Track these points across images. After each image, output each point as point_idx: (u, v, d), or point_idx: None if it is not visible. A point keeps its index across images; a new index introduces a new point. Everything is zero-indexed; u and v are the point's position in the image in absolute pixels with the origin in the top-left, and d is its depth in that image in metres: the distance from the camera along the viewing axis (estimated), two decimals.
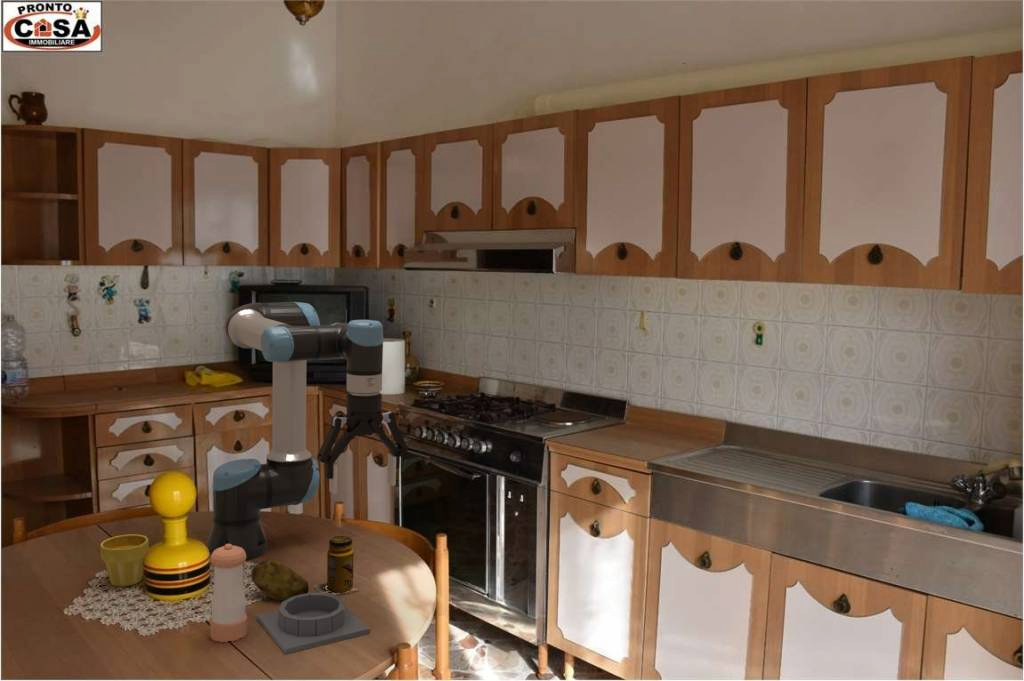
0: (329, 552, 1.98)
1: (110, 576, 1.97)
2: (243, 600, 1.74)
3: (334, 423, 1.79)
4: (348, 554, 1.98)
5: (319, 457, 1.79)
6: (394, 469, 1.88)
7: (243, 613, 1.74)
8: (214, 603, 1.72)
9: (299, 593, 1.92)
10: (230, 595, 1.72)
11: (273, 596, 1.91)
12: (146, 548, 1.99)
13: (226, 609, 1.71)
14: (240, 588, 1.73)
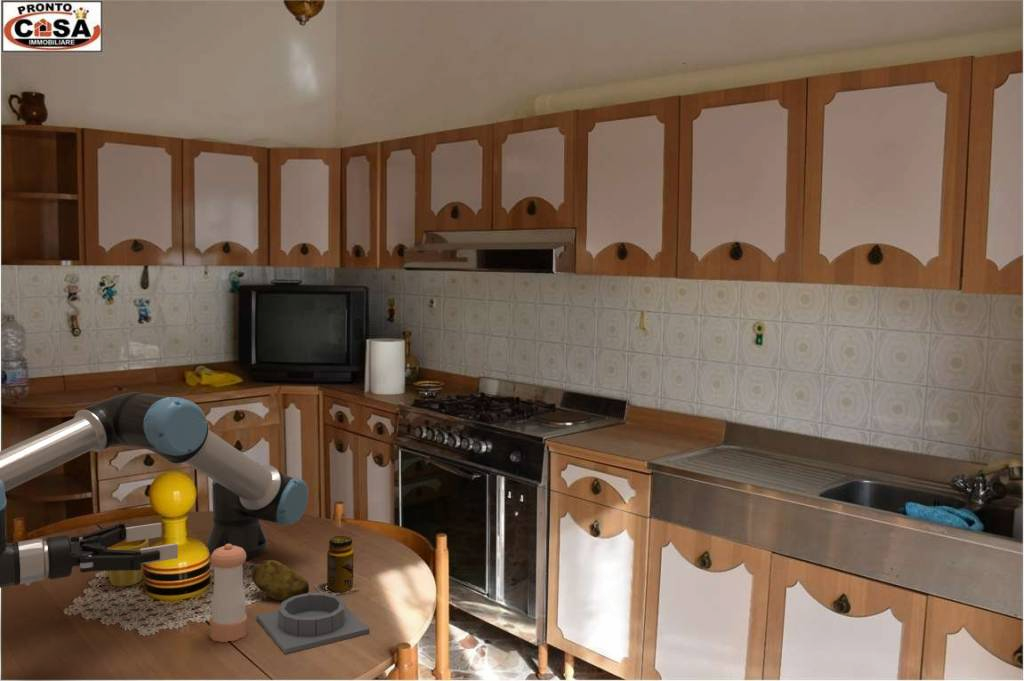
0: (329, 552, 1.98)
1: (110, 576, 1.97)
2: (243, 600, 1.74)
3: None
4: (348, 554, 1.98)
5: None
6: None
7: (243, 613, 1.74)
8: (214, 603, 1.72)
9: (299, 593, 1.92)
10: (230, 595, 1.72)
11: (273, 596, 1.91)
12: None
13: (226, 609, 1.71)
14: (240, 588, 1.73)
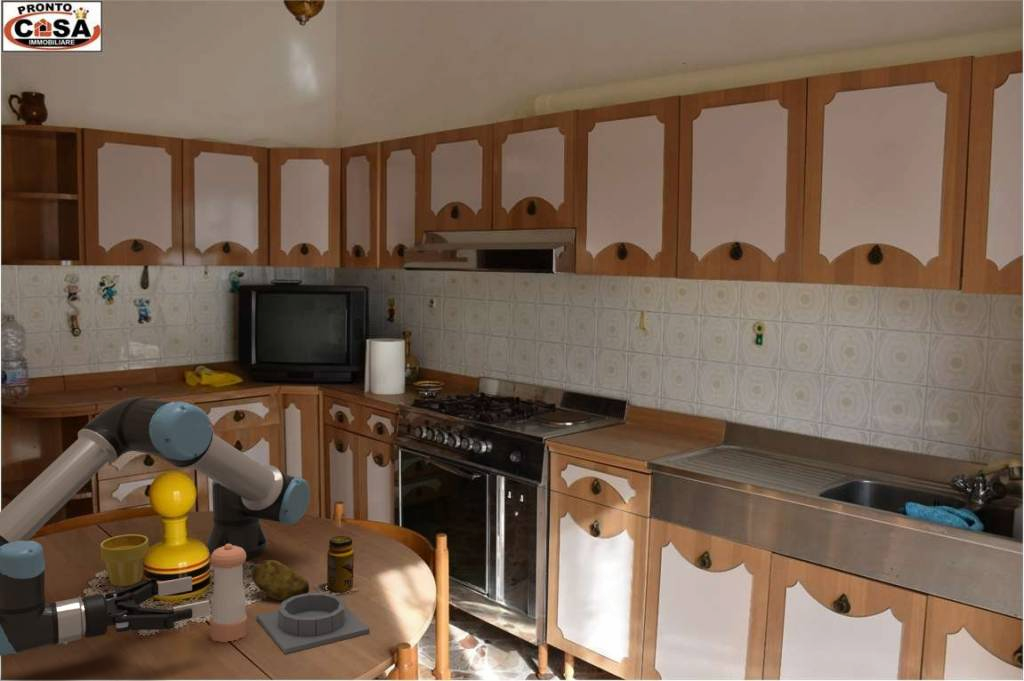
0: (329, 552, 1.98)
1: (110, 576, 1.97)
2: (243, 600, 1.74)
3: None
4: (348, 554, 1.98)
5: None
6: None
7: (243, 613, 1.74)
8: (214, 603, 1.72)
9: (299, 593, 1.92)
10: (230, 595, 1.72)
11: (273, 596, 1.91)
12: (146, 548, 1.99)
13: (226, 609, 1.71)
14: (240, 588, 1.73)
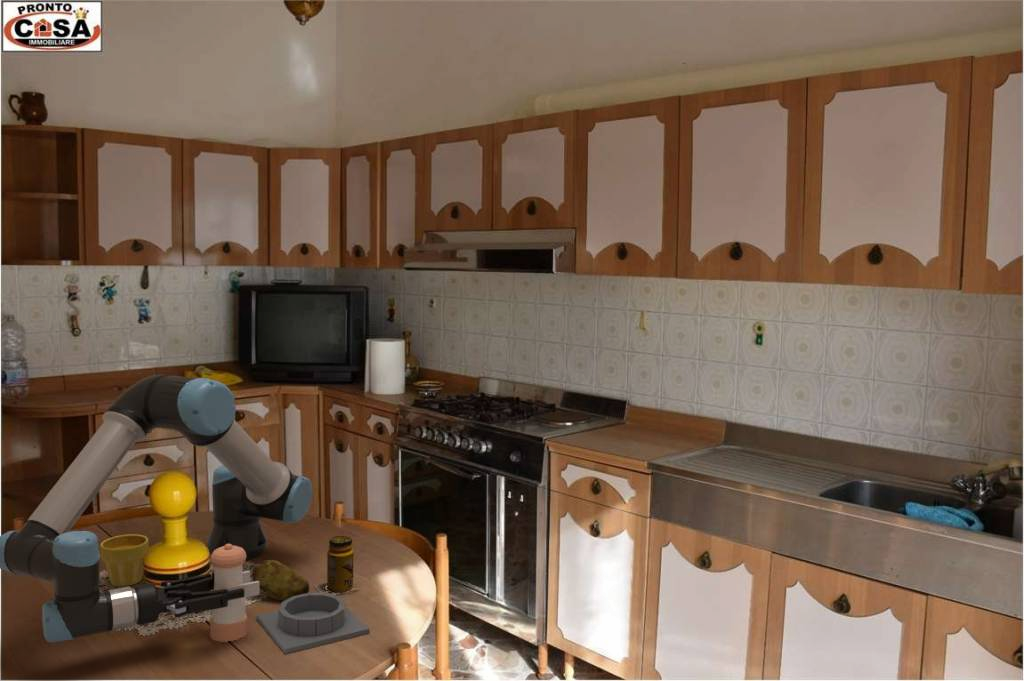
0: (329, 552, 1.98)
1: (110, 576, 1.97)
2: (243, 600, 1.74)
3: None
4: (348, 554, 1.98)
5: None
6: None
7: (243, 613, 1.74)
8: None
9: (299, 593, 1.92)
10: None
11: (273, 596, 1.91)
12: (146, 548, 1.99)
13: (226, 609, 1.71)
14: None
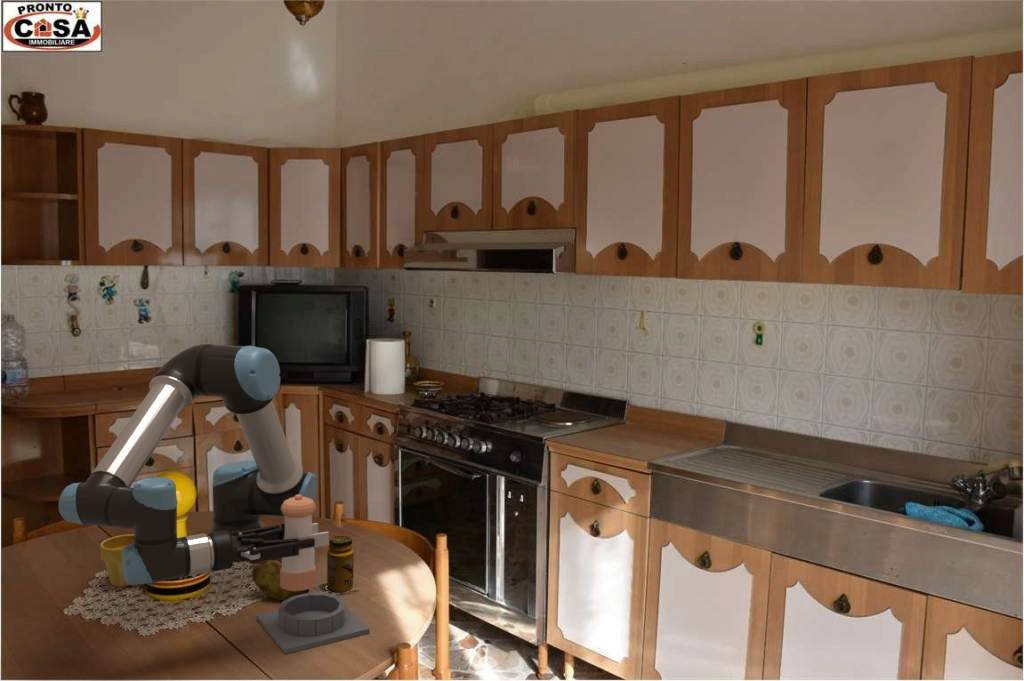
0: (329, 552, 1.98)
1: (110, 576, 1.97)
2: (313, 550, 1.76)
3: None
4: (348, 554, 1.98)
5: None
6: None
7: (312, 563, 1.77)
8: None
9: (299, 593, 1.92)
10: None
11: (274, 596, 1.91)
12: None
13: (297, 558, 1.74)
14: None
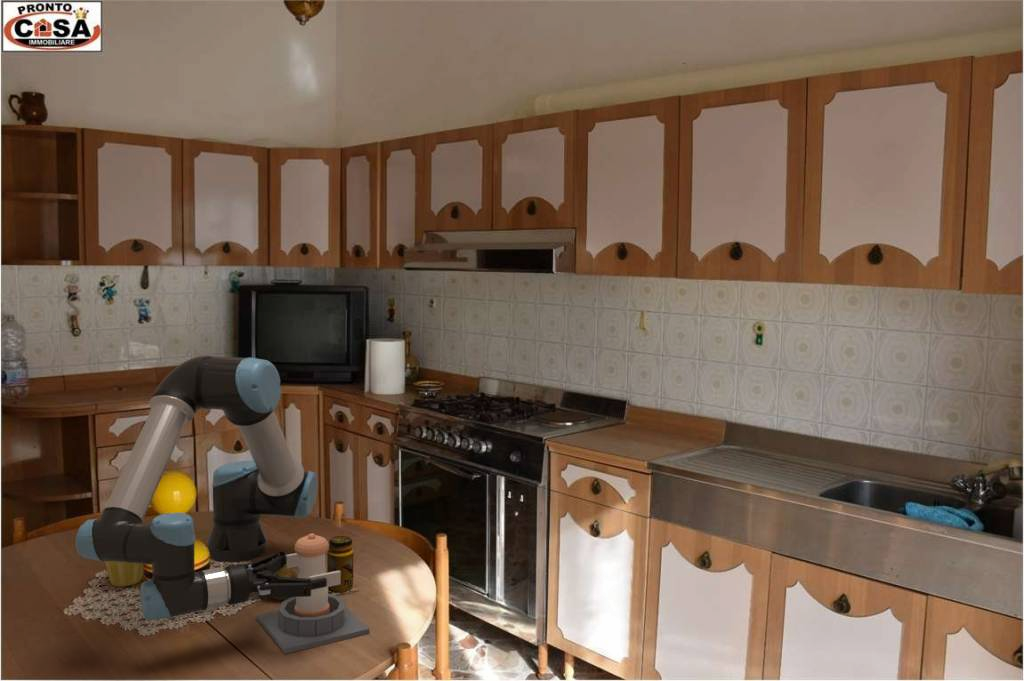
0: (329, 552, 1.98)
1: (110, 576, 1.97)
2: (326, 588, 1.79)
3: None
4: (348, 554, 1.98)
5: None
6: None
7: (326, 601, 1.79)
8: None
9: None
10: None
11: None
12: None
13: (311, 597, 1.76)
14: None
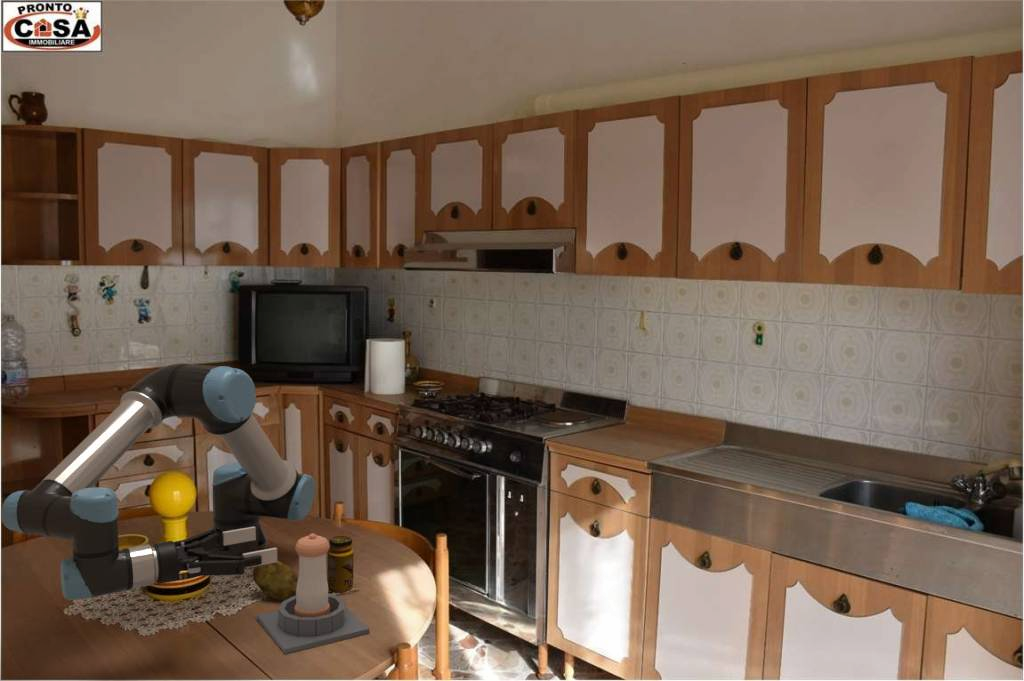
0: (329, 552, 1.98)
1: None
2: (326, 588, 1.79)
3: None
4: (348, 554, 1.98)
5: None
6: None
7: (326, 601, 1.79)
8: (299, 591, 1.77)
9: None
10: (315, 583, 1.76)
11: (274, 596, 1.91)
12: None
13: (311, 597, 1.76)
14: (324, 577, 1.78)
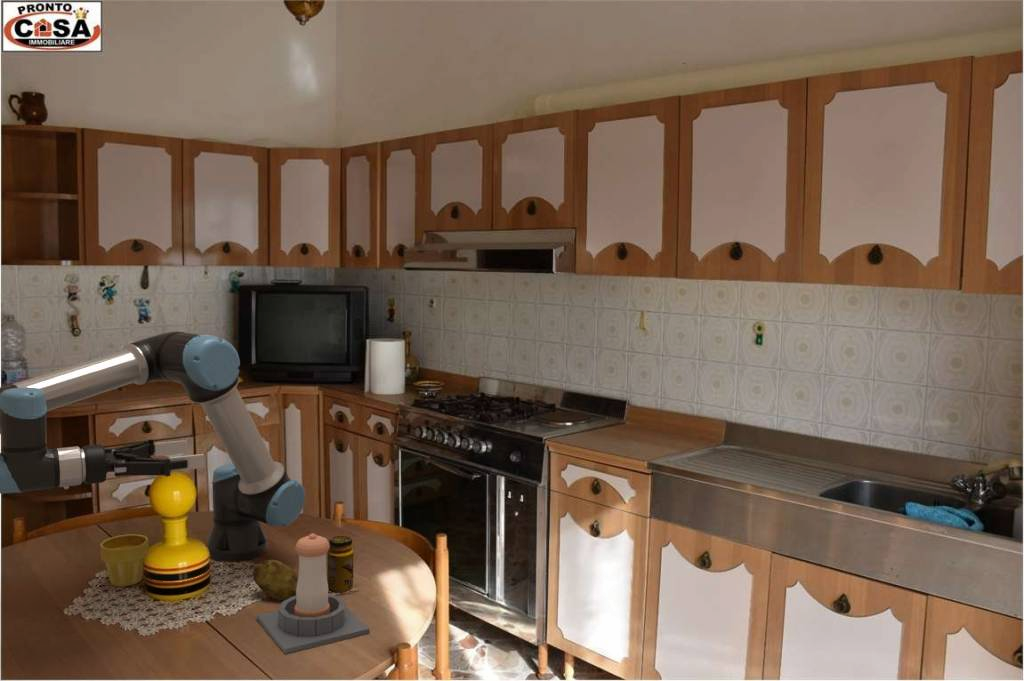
0: (329, 552, 1.98)
1: (110, 576, 1.97)
2: (326, 588, 1.79)
3: None
4: (348, 554, 1.98)
5: None
6: None
7: (326, 601, 1.79)
8: (299, 591, 1.77)
9: None
10: (315, 583, 1.76)
11: (274, 596, 1.91)
12: (146, 548, 1.99)
13: (311, 597, 1.76)
14: (324, 577, 1.78)
